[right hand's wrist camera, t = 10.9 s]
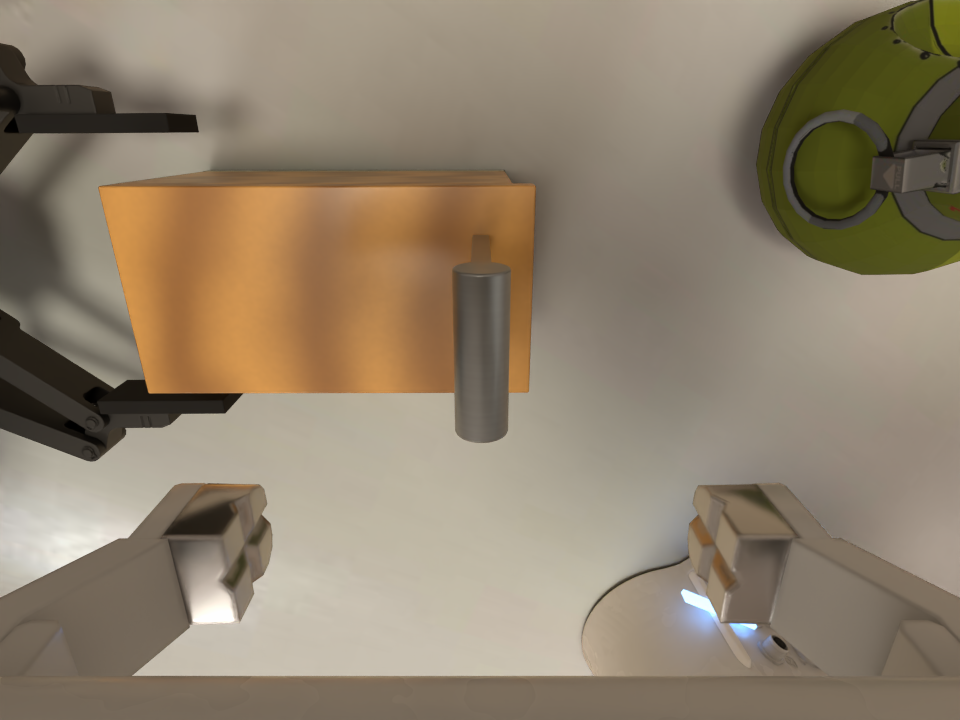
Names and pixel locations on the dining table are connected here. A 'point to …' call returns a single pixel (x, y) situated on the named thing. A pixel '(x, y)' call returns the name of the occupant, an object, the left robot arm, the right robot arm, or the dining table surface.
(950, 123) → the grenade
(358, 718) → the right robot arm
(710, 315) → the dining table surface
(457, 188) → the lid
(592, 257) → the dining table surface
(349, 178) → the chest
